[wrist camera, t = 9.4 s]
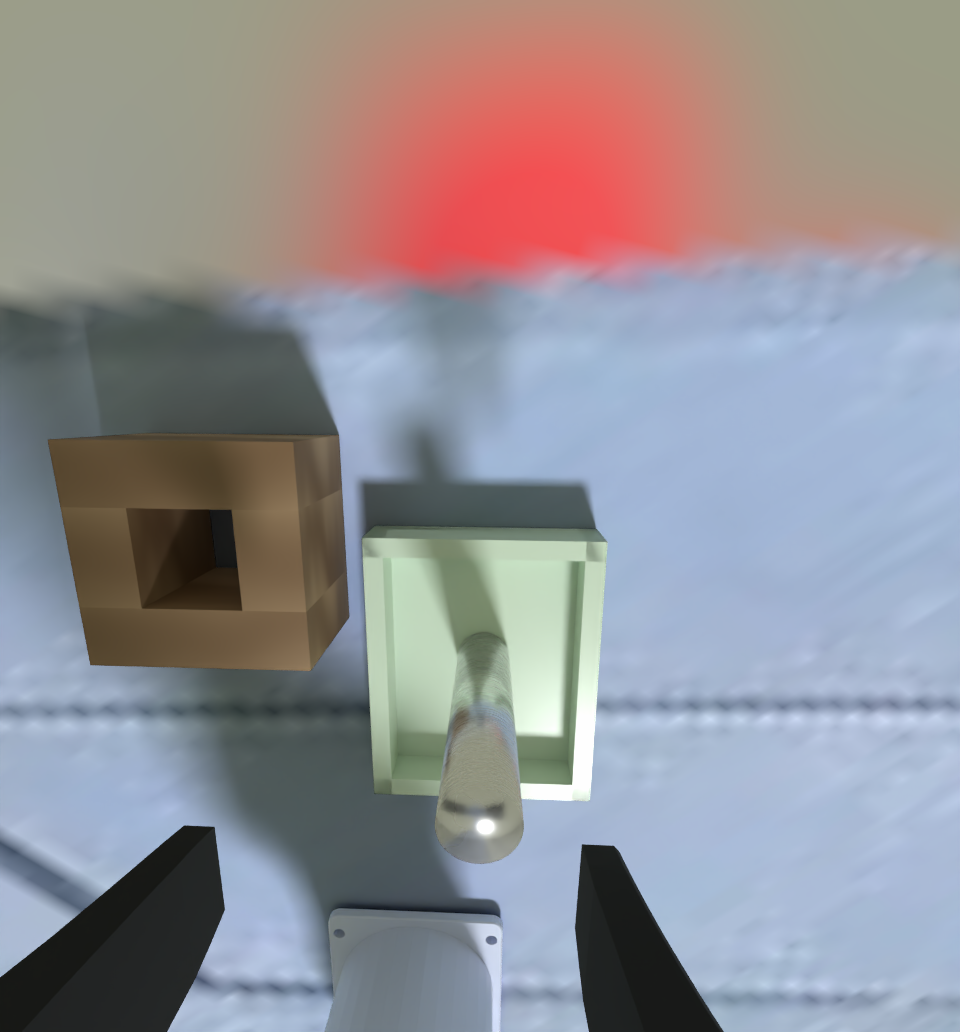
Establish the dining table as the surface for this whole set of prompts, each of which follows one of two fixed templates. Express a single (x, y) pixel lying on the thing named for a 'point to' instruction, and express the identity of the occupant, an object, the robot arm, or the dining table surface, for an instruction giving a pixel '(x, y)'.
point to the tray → (495, 609)
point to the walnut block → (205, 547)
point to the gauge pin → (480, 758)
